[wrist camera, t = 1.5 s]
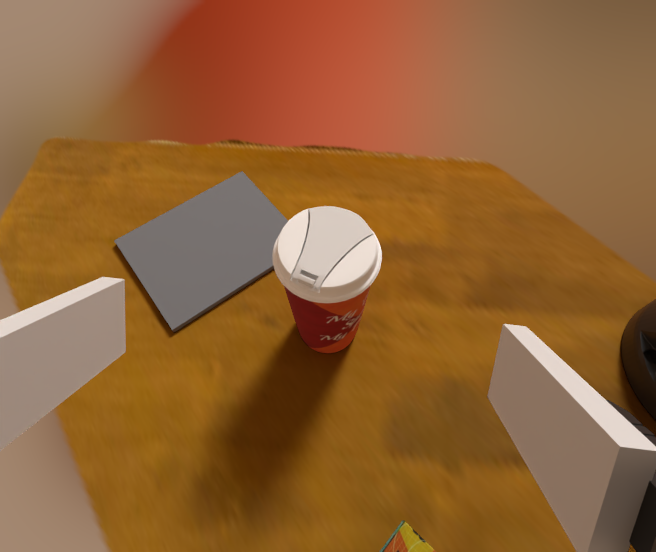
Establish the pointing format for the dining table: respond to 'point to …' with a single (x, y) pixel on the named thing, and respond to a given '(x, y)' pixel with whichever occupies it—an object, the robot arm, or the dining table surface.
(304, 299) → the paper cup
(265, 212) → the mat
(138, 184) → the dining table surface
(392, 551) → the puzzle game
